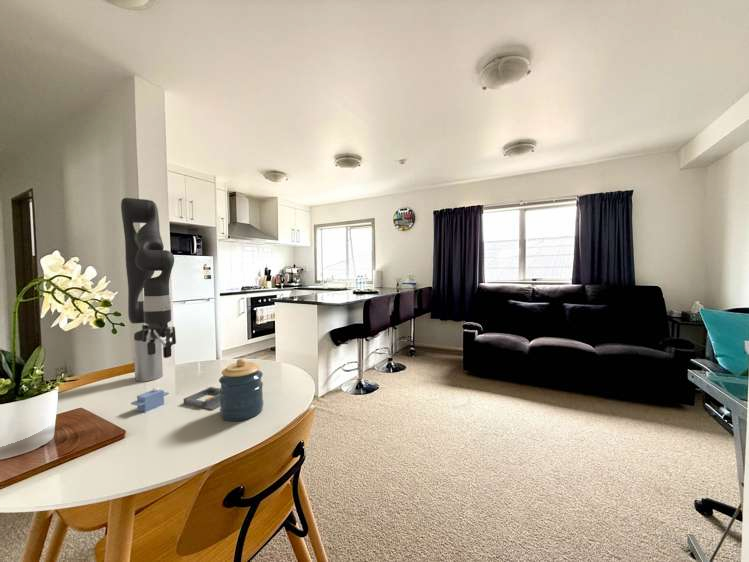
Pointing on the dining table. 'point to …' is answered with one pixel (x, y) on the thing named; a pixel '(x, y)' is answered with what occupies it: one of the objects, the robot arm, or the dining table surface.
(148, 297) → the robot arm
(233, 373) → the canister
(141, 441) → the dining table surface
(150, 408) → the block
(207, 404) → the chassis plate
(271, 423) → the dining table surface
